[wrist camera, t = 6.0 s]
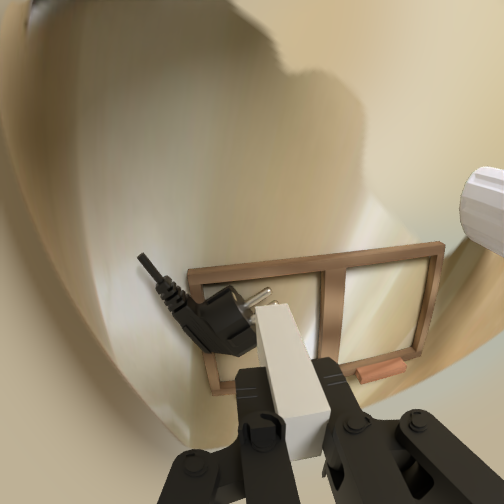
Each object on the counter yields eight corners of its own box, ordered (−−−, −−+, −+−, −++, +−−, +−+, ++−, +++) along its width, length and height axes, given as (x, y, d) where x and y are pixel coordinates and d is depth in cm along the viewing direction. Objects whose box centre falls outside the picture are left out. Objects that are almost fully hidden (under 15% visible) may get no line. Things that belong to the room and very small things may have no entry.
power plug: (124, 275, 19) (223, 381, 24) (214, 211, 19) (300, 335, 23) (138, 249, 25) (217, 343, 29) (210, 198, 24) (281, 303, 29)
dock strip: (188, 269, 26) (184, 284, 23) (438, 241, 28) (455, 250, 25) (212, 388, 32) (212, 407, 29) (416, 350, 33) (427, 364, 30)
